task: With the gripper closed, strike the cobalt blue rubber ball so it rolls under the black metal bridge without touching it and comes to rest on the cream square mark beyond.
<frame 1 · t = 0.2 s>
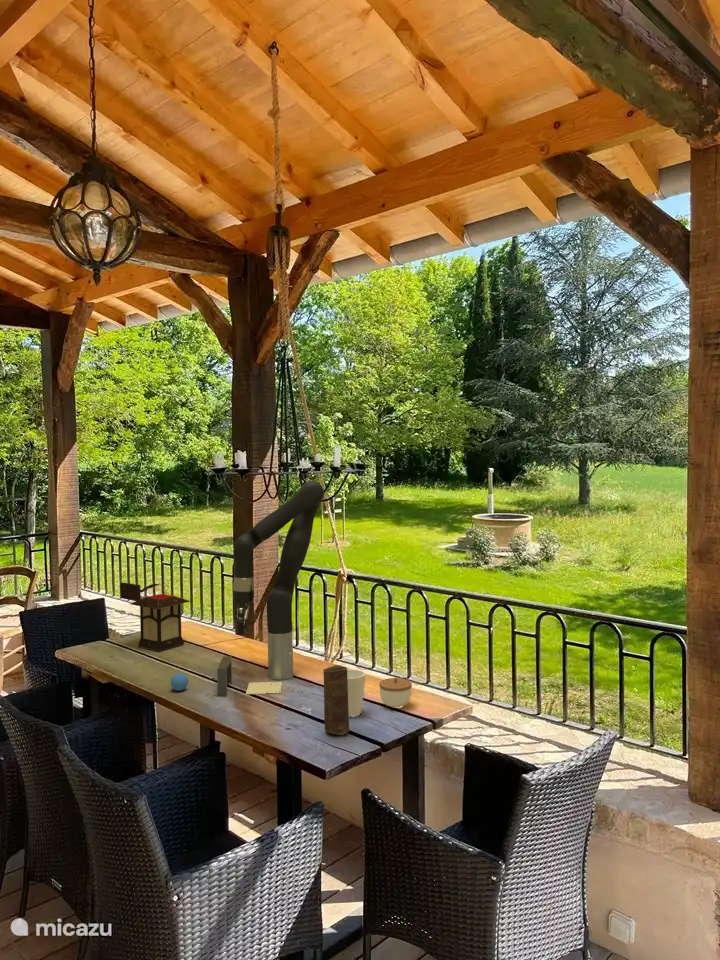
hand: (242, 631, 265), 17 cm above the table, tool pointing down, fingers open, 8 cm apart
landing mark: (264, 688, 253), on the table
ball: (179, 682, 252), on the table
candle: (336, 733, 213), on the table
foam cup: (351, 714, 228), on the table
bridge: (224, 689, 253), on the table
lantern: (154, 648, 306), on the table
lidded jar: (395, 706, 235), on the table
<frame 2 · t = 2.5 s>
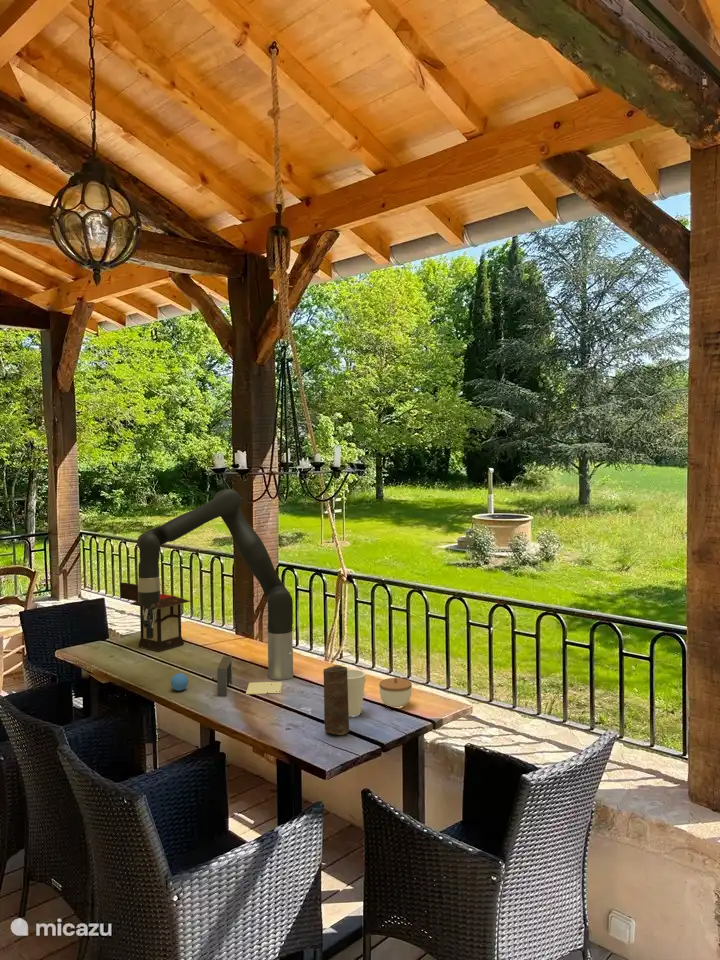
hand: (150, 638, 250), 19 cm above the table, tool pointing down, fingers closed
nothing on the table moved.
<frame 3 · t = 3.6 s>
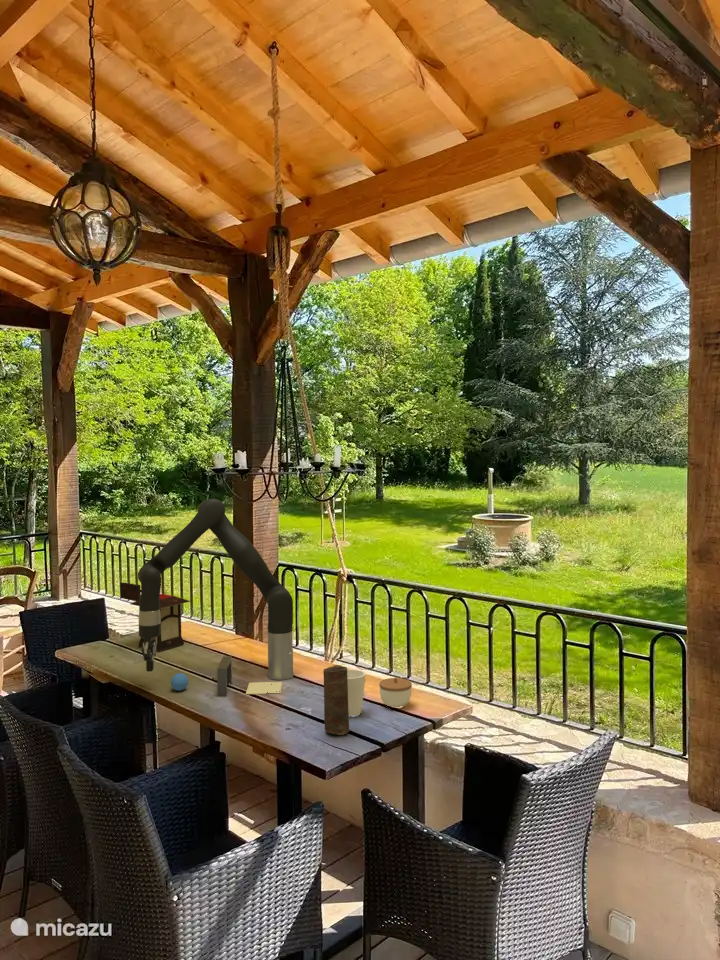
hand: (150, 670, 251), 7 cm above the table, tool pointing down, fingers closed
nothing on the table moved.
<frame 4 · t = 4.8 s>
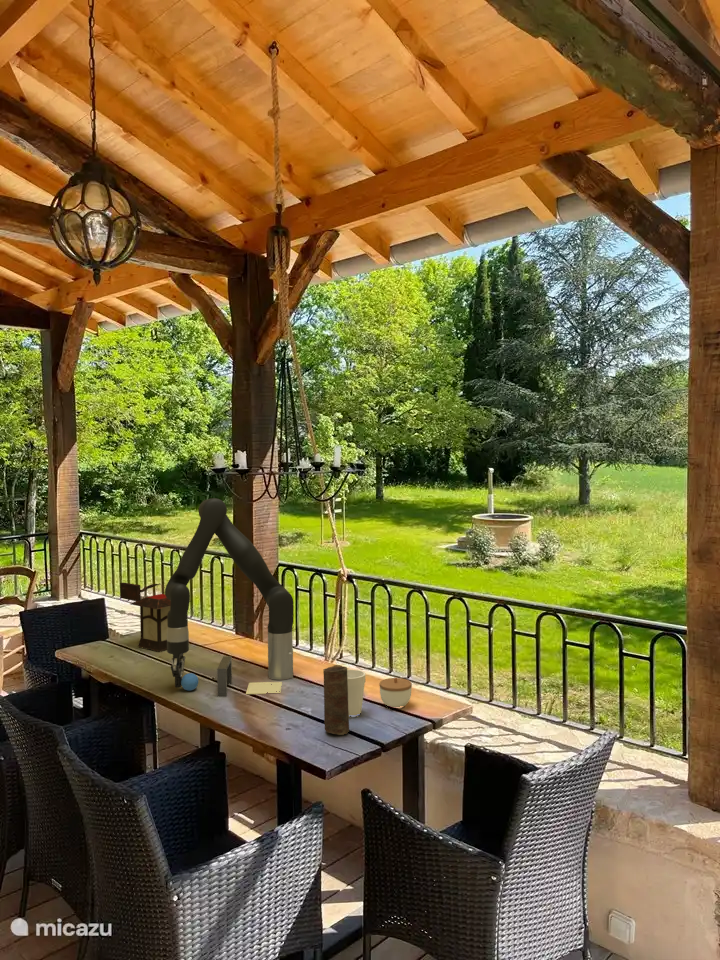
hand: (178, 686, 252), 1 cm above the table, tool pointing down, fingers closed
ball: (189, 681, 252), on the table
everything else where it was.
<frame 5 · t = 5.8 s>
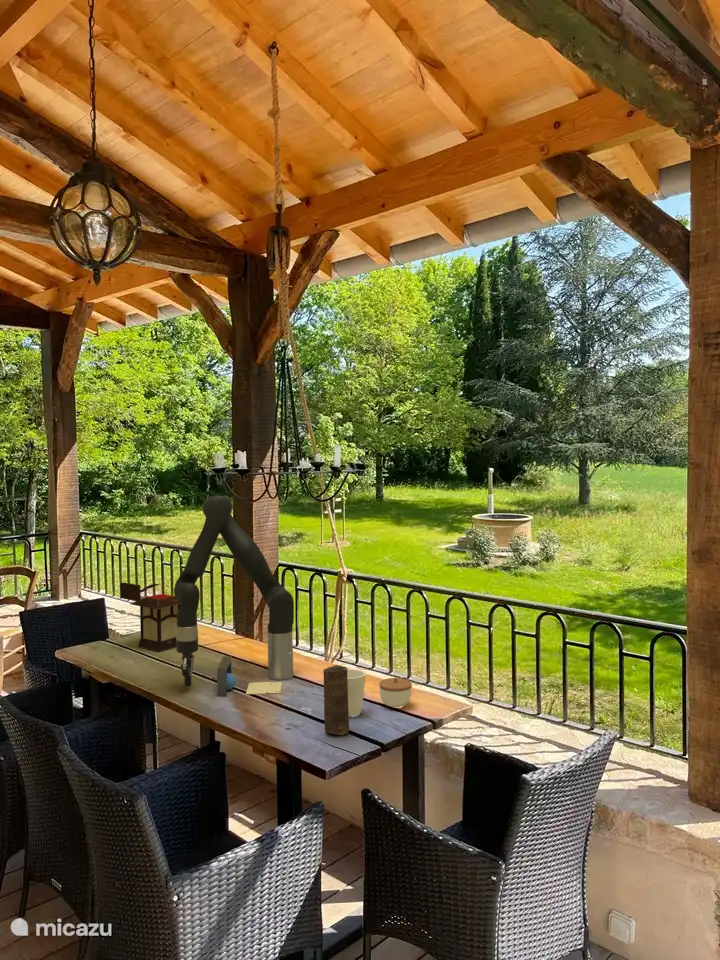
hand: (188, 685, 252), 2 cm above the table, tool pointing down, fingers closed
ball: (226, 681, 252), on the table
everything else where it was.
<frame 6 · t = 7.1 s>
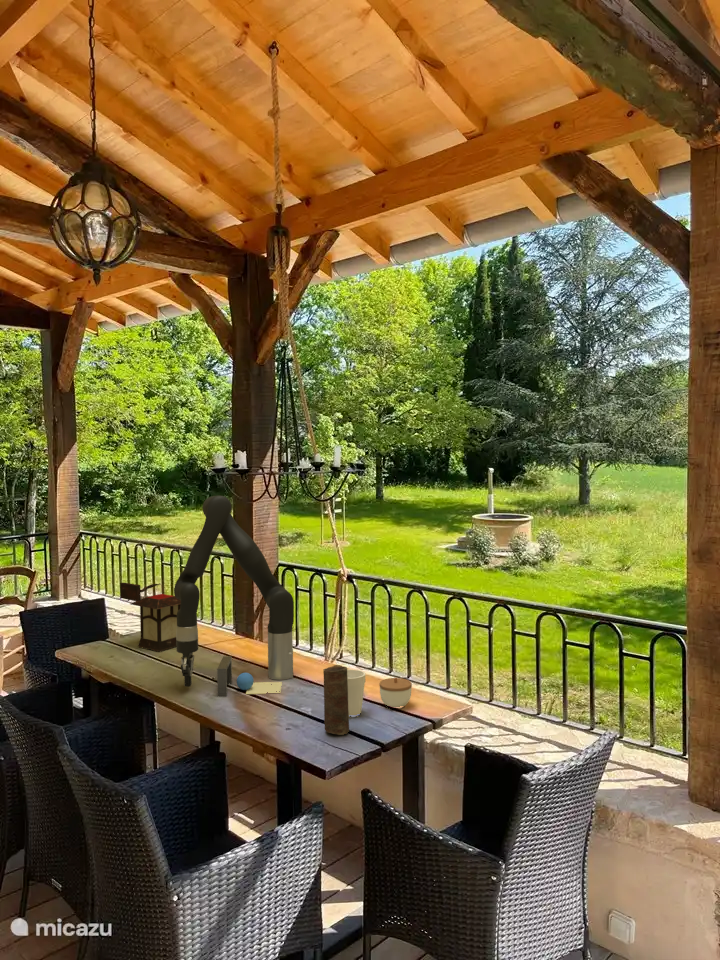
hand: (188, 685, 252), 2 cm above the table, tool pointing down, fingers closed
ball: (245, 681, 252), on the table
everything else where it was.
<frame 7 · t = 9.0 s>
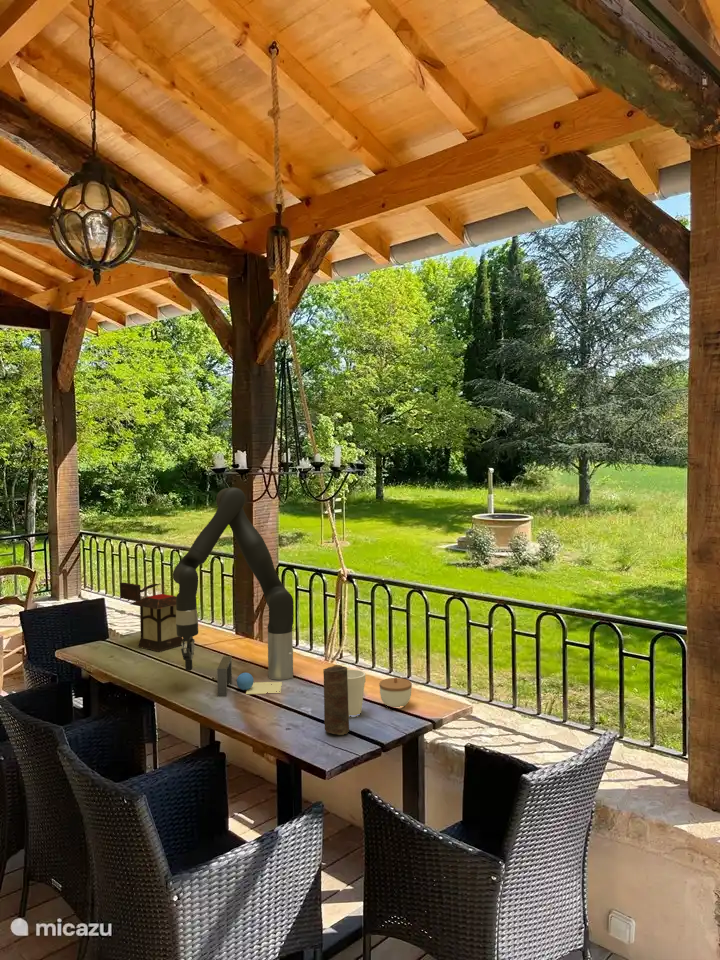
hand: (189, 669, 251), 7 cm above the table, tool pointing down, fingers closed
nothing on the table moved.
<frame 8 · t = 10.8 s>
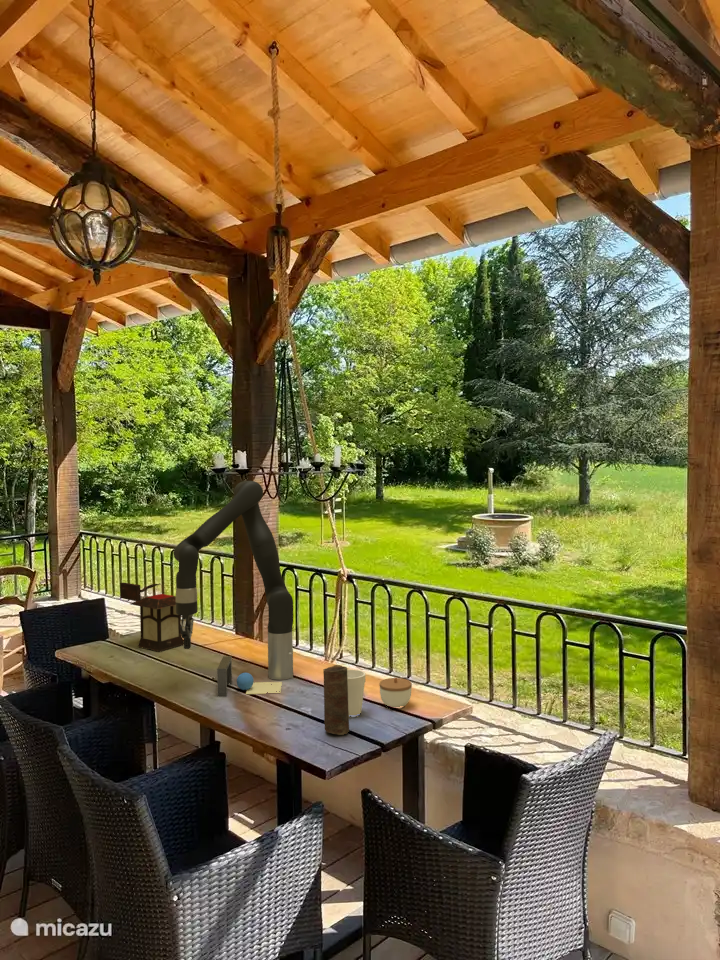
hand: (187, 648, 251), 15 cm above the table, tool pointing down, fingers closed
nothing on the table moved.
at the end: ball 6.8 cm from the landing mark (horizontally); ball never touched bridge; ball at rest at the end (0.0 cm/s) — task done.
